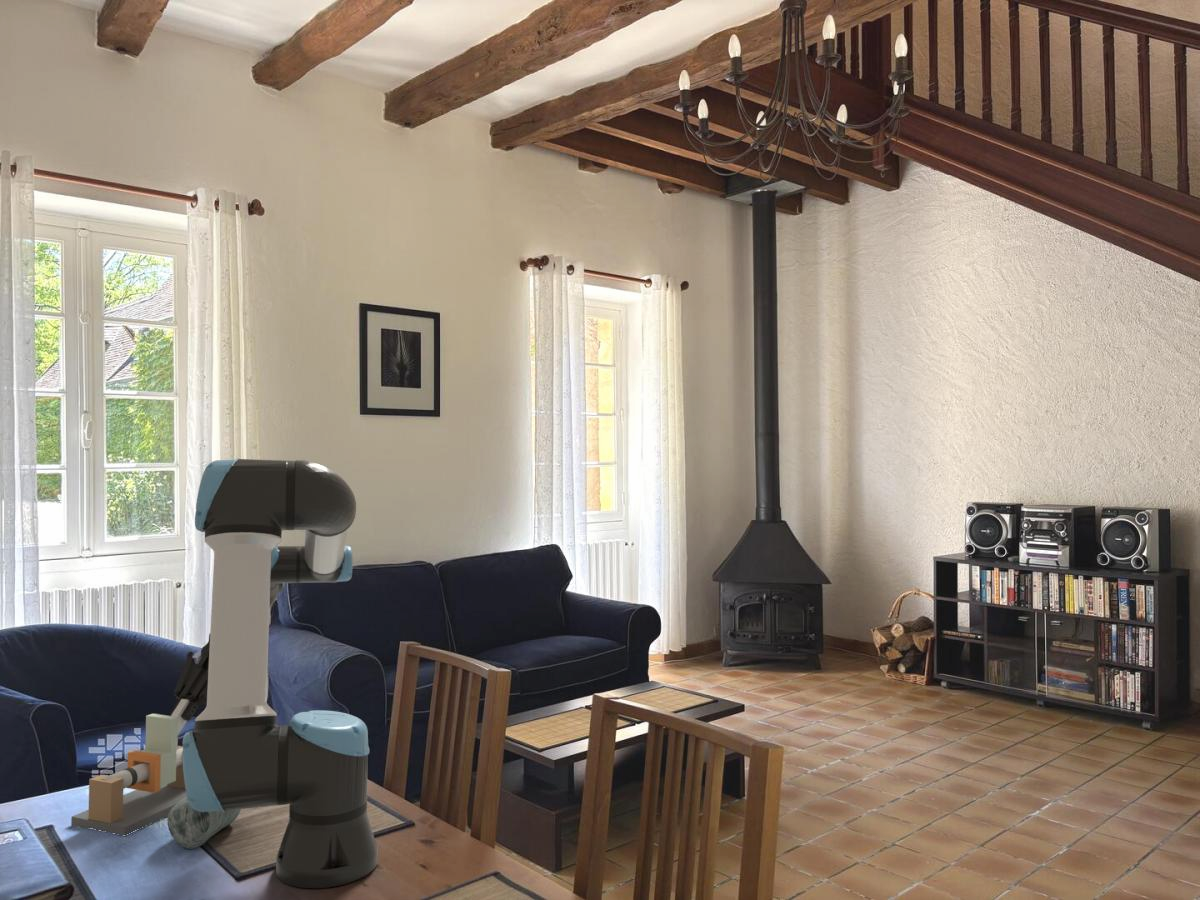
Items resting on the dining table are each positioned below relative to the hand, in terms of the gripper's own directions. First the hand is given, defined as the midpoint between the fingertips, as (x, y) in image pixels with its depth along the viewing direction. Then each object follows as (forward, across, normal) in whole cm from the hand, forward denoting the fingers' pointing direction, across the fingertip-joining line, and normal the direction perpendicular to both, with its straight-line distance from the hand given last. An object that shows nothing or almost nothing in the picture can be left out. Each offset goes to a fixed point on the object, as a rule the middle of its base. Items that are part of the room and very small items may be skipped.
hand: (169, 734), depth 166 cm
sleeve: (+8, 0, -3) cm, 8 cm away
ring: (+10, 0, -2) cm, 10 cm away
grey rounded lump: (+16, -18, -2) cm, 24 cm away
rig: (+12, 0, -5) cm, 13 cm away
